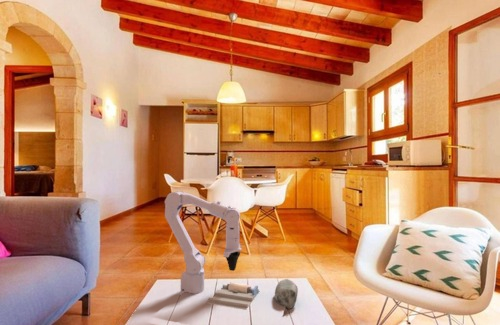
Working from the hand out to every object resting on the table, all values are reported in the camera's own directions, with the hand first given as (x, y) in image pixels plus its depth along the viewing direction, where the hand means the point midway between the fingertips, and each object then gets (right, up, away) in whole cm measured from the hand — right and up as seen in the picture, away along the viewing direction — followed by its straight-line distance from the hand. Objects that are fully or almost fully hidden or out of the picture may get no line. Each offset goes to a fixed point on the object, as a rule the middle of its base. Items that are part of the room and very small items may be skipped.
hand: (232, 270), depth 126 cm
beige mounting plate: (+1, -10, -6) cm, 12 cm away
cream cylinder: (+3, -9, -2) cm, 9 cm away
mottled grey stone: (+22, -11, -8) cm, 25 cm away
